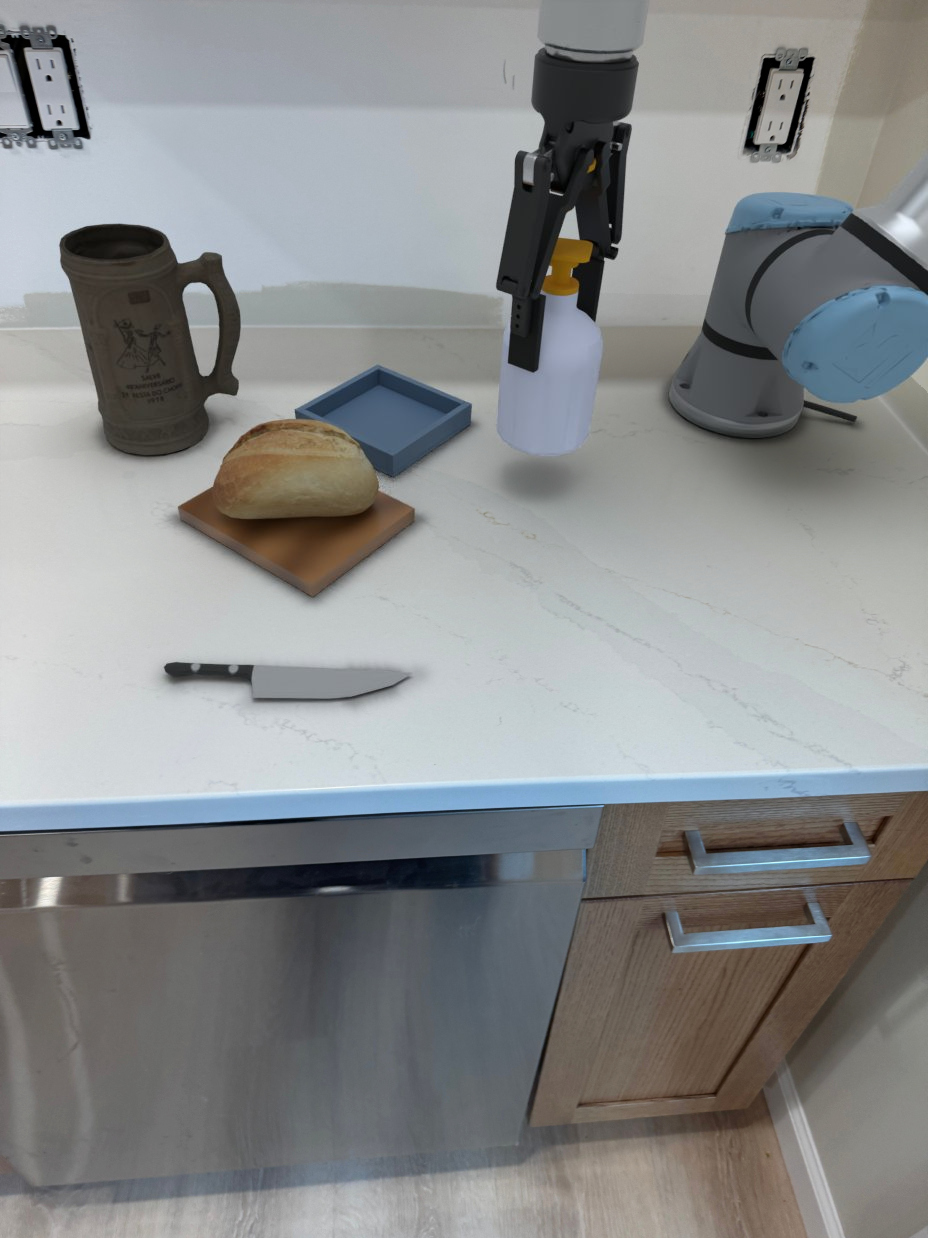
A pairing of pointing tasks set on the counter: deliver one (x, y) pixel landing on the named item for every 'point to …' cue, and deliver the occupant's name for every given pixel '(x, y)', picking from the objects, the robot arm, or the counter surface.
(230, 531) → the bread board
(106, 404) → the beer stein
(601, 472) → the counter surface
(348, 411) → the soap tray
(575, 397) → the soap bottle
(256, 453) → the bread roll
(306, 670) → the chef's knife
